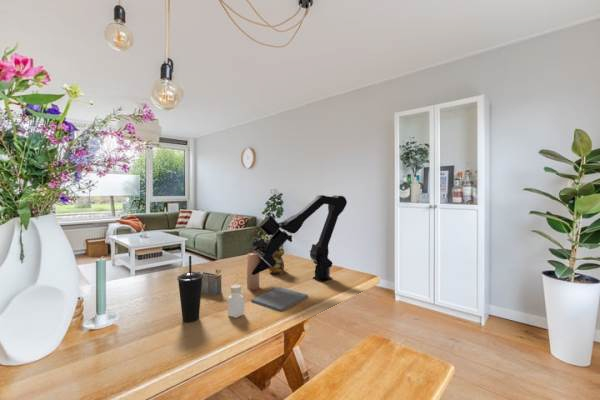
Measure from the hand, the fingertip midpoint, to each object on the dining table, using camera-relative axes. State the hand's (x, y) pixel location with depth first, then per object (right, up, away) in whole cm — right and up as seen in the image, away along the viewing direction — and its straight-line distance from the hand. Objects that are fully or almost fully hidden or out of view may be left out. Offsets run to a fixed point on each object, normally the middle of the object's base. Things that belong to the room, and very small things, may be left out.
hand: (249, 271), depth 117 cm
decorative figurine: (+9, -6, +22) cm, 25 cm away
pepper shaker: (0, -8, -25) cm, 26 cm away
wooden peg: (+1, -7, +1) cm, 7 cm away
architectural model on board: (-16, -8, -4) cm, 18 cm away
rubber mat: (+13, -8, -11) cm, 19 cm away
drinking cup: (-14, -8, -27) cm, 32 cm away
